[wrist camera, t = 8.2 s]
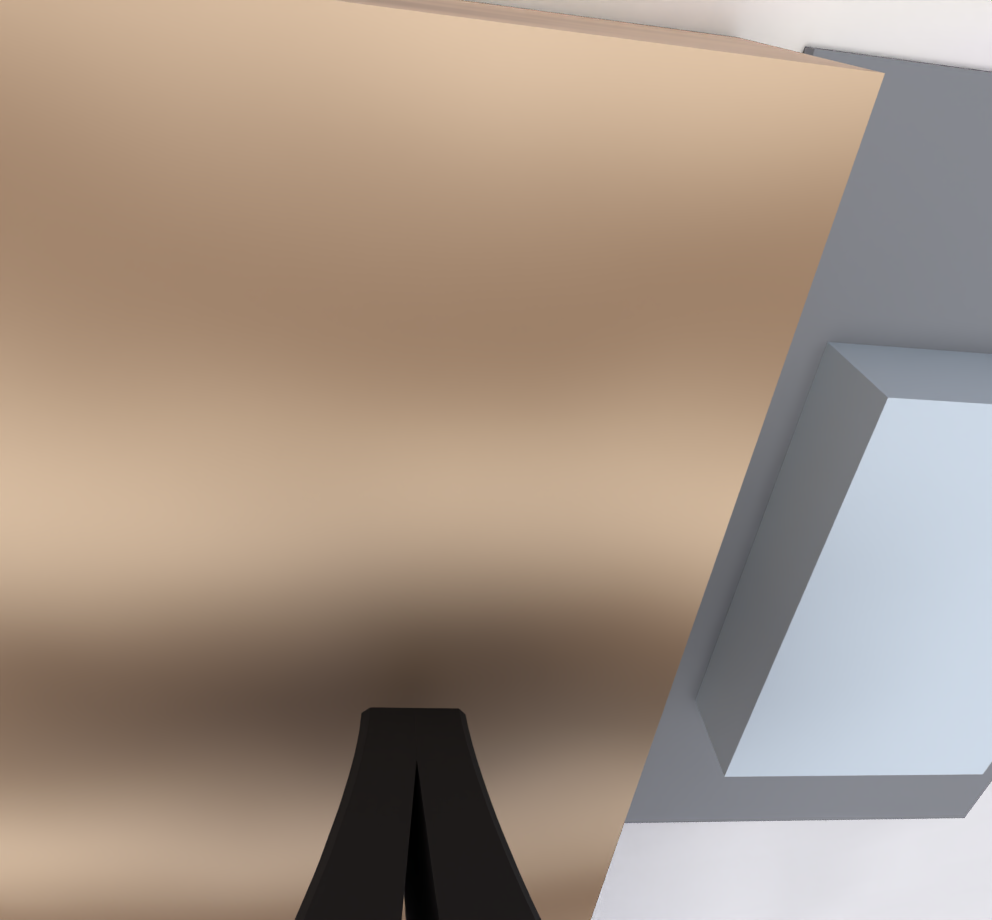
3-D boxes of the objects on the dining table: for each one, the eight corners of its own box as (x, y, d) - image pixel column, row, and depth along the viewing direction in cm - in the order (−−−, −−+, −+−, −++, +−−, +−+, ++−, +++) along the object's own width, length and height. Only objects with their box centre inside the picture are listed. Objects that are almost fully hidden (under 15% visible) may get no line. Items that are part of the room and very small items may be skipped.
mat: (958, 808, 22) (964, 817, 22) (580, 813, 20) (582, 823, 20) (1442, 133, 13) (1464, 136, 12) (805, 46, 11) (814, 48, 11)
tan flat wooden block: (543, 813, 20) (569, 982, 17) (52, 819, 19) (-26, 1008, 15) (738, 37, 11) (885, 73, 7) (-229, -94, 9) (-598, -124, 6)
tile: (724, 776, 16) (695, 700, 18) (983, 774, 17) (932, 702, 19) (888, 397, 12) (827, 342, 13) (1235, 419, 12) (1137, 364, 14)
